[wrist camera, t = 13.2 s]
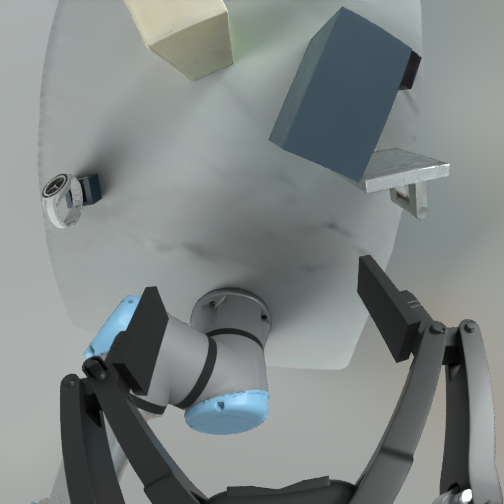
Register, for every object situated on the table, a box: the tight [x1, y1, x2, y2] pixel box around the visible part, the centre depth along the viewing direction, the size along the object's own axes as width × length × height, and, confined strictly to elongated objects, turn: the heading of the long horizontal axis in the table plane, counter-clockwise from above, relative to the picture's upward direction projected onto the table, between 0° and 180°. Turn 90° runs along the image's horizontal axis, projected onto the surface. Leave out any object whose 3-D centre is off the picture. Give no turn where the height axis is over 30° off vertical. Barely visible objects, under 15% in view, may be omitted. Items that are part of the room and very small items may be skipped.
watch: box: [42, 174, 102, 228], centre depth 34 cm, size 6×8×11 cm
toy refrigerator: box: [124, 0, 233, 81], centre depth 21 cm, size 8×7×21 cm
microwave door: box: [331, 148, 450, 220], centre depth 34 cm, size 8×13×14 cm, turn 105°
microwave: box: [269, 7, 422, 183], centre depth 29 cm, size 11×18×14 cm, turn 159°
